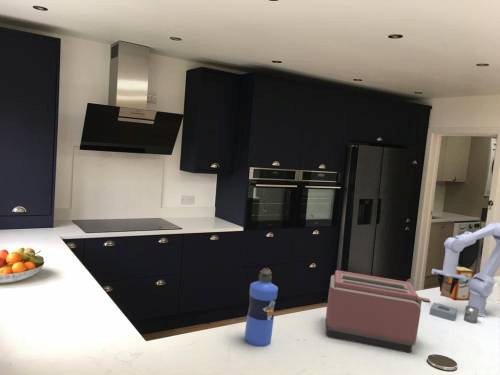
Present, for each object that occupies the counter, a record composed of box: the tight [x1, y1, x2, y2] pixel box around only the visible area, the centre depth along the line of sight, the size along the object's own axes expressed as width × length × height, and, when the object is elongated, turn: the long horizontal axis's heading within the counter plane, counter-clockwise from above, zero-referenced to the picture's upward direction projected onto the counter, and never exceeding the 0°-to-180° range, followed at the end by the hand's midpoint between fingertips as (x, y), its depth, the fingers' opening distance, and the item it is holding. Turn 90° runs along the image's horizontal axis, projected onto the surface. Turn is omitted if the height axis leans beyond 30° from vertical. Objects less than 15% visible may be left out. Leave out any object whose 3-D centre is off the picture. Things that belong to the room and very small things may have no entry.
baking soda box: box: [446, 266, 475, 301], centre depth 223 cm, size 10×6×16 cm
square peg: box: [440, 281, 452, 299], centre depth 200 cm, size 4×4×6 cm
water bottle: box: [244, 267, 279, 348], centre depth 146 cm, size 9×9×25 cm
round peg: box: [463, 305, 479, 324], centre depth 191 cm, size 5×5×6 cm
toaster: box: [325, 270, 432, 353], centre depth 161 cm, size 19×36×21 cm, turn 79°
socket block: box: [429, 302, 458, 322], centre depth 195 cm, size 10×10×3 cm
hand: (445, 292), depth 200 cm, fingers closed on square peg, 4 cm apart
